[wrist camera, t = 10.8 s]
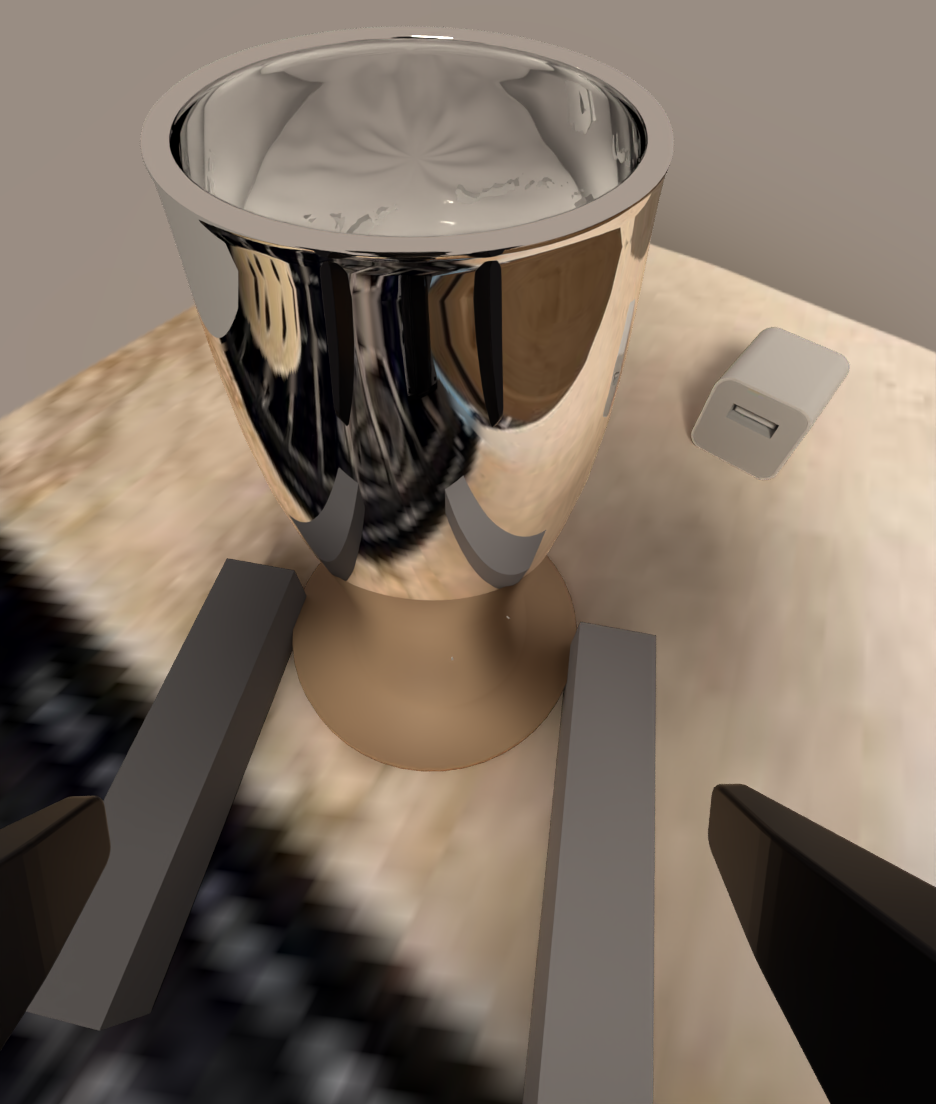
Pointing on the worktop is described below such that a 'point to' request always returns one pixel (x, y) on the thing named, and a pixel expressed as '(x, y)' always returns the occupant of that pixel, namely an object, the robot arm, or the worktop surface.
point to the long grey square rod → (175, 798)
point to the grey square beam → (599, 883)
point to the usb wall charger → (768, 401)
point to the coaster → (422, 731)
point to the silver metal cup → (417, 308)
